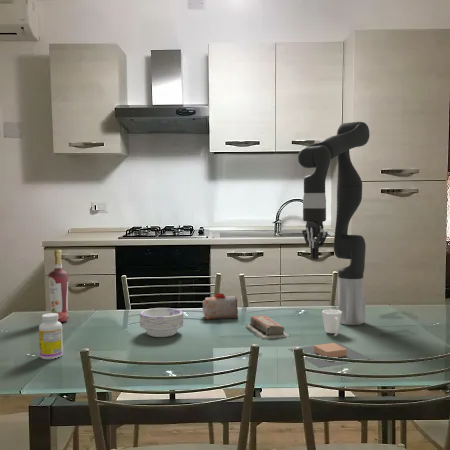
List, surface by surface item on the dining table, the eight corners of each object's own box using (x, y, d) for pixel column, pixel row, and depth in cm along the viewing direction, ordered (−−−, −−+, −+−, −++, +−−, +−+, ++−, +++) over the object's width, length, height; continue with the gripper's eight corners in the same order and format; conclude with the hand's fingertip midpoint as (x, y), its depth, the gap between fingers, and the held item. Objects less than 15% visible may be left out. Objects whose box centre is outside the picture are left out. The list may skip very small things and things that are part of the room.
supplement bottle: (43, 353, 153) (42, 312, 153) (65, 352, 154) (64, 311, 153) (37, 360, 147) (35, 317, 146) (59, 359, 147) (58, 317, 146)
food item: (204, 320, 193) (204, 295, 192) (202, 316, 200) (201, 291, 200) (238, 319, 195) (238, 294, 194) (235, 314, 203) (235, 290, 202)
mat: (338, 344, 160) (338, 342, 160) (373, 361, 143) (373, 359, 143) (288, 350, 154) (288, 349, 154) (319, 369, 137) (319, 367, 137)
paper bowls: (191, 330, 178) (191, 309, 178) (169, 342, 164) (168, 318, 164) (155, 326, 184) (155, 305, 184) (131, 337, 171) (130, 314, 170)
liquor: (73, 320, 194) (71, 249, 192) (58, 325, 188) (56, 251, 186) (61, 318, 198) (59, 248, 196) (45, 322, 192) (43, 250, 190)
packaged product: (245, 315, 182) (270, 313, 185) (245, 328, 182) (270, 326, 185) (262, 327, 165) (290, 325, 167) (262, 342, 165) (290, 339, 168)
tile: (333, 342, 152) (347, 349, 146) (333, 349, 152) (347, 356, 146) (314, 345, 150) (326, 352, 143) (313, 352, 150) (326, 359, 144)
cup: (338, 331, 175) (338, 309, 175) (348, 339, 165) (348, 315, 165) (319, 332, 175) (319, 309, 174) (327, 340, 165) (327, 316, 164)
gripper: (335, 207, 159) (335, 260, 160) (314, 206, 171) (314, 256, 172) (315, 207, 156) (315, 262, 157) (294, 206, 169) (294, 257, 170)
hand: (314, 259), depth 165 cm, fingers closed
